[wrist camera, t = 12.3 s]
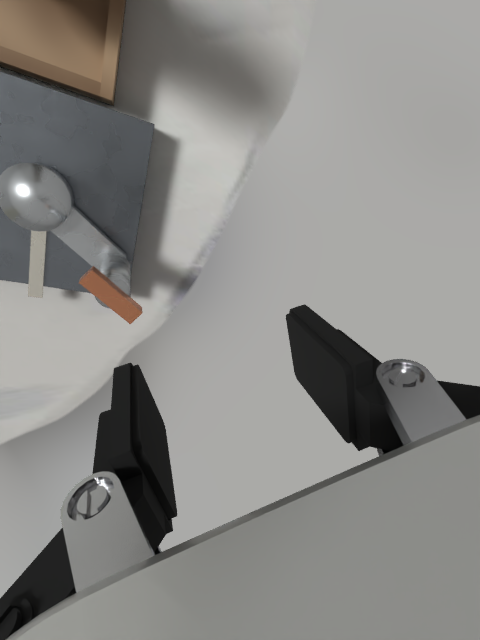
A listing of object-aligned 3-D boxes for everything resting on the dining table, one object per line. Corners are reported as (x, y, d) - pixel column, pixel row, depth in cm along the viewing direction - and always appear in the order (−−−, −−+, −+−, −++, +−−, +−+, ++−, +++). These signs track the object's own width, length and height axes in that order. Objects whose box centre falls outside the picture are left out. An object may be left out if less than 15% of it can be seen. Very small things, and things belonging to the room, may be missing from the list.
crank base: (-71, 51, 21) (-90, 40, 19) (152, 126, 26) (154, 124, 24) (-60, 273, 26) (-74, 282, 24) (125, 300, 31) (125, 309, 30)
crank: (-10, 192, 23) (-70, 205, 16) (34, 148, 23) (-8, 142, 16) (116, 297, 29) (112, 340, 22) (152, 263, 29) (160, 296, 22)
